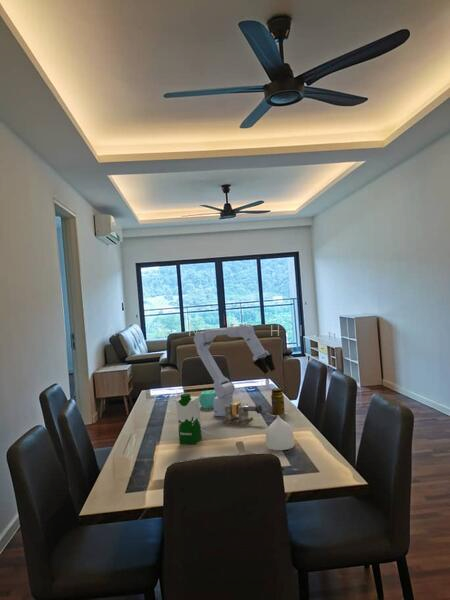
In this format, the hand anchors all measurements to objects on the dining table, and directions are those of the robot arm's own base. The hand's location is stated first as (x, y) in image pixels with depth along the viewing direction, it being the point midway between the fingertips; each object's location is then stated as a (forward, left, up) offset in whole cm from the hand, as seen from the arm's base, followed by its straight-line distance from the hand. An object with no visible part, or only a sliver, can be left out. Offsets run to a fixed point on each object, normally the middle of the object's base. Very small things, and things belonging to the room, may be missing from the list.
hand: (270, 371), depth 205 cm
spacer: (-15, -7, -19) cm, 26 cm away
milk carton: (-21, -38, -23) cm, 49 cm away
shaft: (-11, -7, -18) cm, 22 cm away
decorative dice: (-43, +14, -23) cm, 51 cm away
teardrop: (+16, -31, -23) cm, 42 cm away
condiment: (-2, +10, -23) cm, 25 cm away
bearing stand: (-15, -7, -23) cm, 28 cm away
